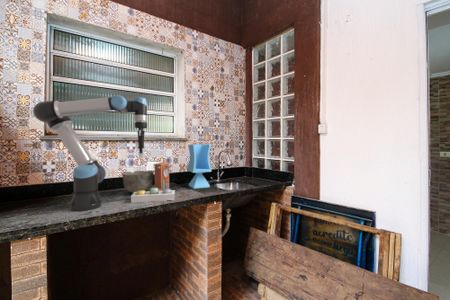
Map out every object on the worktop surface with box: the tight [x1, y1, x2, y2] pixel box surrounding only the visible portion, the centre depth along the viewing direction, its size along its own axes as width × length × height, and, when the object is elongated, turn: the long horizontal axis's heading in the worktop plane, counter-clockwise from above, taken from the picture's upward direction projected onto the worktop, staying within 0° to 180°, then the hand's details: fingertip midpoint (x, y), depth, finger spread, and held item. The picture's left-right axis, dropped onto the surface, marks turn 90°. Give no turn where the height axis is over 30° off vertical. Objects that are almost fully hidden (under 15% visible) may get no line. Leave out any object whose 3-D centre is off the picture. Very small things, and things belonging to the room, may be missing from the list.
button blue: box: [163, 188, 172, 194], centre depth 147 cm, size 5×5×3 cm
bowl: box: [121, 170, 155, 194], centre depth 164 cm, size 22×22×15 cm
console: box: [130, 189, 176, 204], centre depth 145 cm, size 26×12×4 cm, turn 103°
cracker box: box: [154, 162, 170, 191], centre depth 166 cm, size 21×7×15 cm
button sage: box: [149, 187, 158, 194], centre depth 145 cm, size 5×5×3 cm
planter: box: [186, 144, 212, 190], centre depth 186 cm, size 16×16×35 cm
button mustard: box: [137, 190, 146, 195], centre depth 143 cm, size 5×5×3 cm
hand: (141, 158), depth 146 cm, fingers closed
